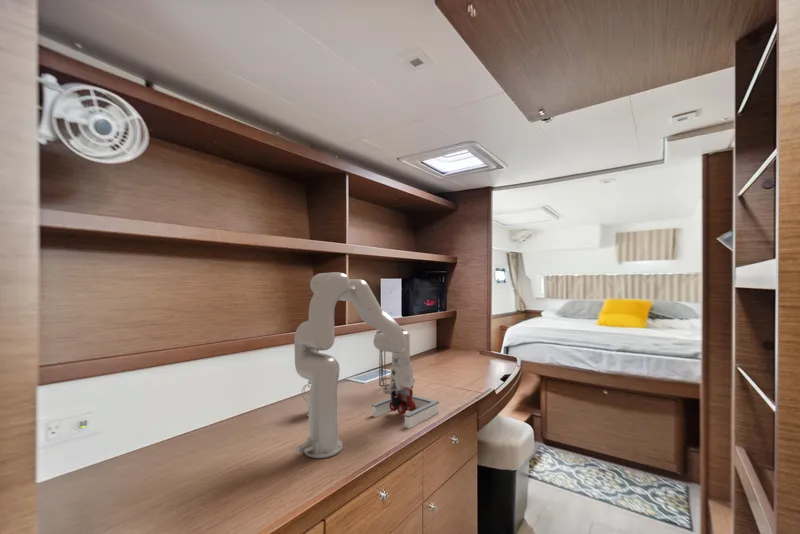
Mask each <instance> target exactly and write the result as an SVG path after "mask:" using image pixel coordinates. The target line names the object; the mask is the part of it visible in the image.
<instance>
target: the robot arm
mask: <svg viewBox="0 0 800 534" xmlns="http://www.w3.org/2000/svg"><path fill="white" fill-rule="evenodd" d="M309 287H310V290H311V291H312V292H313V295H312V297H311V299H310V302H309V308H308V320H306V321H304V322H302V323H300V324H299V325H298V327H297V328H296V330H295V334H294V367H295V371H296V373H297V375H298V376H299V377H301V378H303V379H306V380H307V381H309V380H311V381H312V384H310V387H309V390H310V391H308V392H309V393H308V394H309V397H307V398H308V399H307V401H308V402H307V403H308V404H309V417H308V437H306V438H305V442H304V443H302V444H300V445H298V446H296V447H295V452H296V453H297V454H299V453H301V452H304V455H306V456H307V457H309V458H313V459H324V458H330V457H333V456H335V455H337V454H339V453H340V452H341V451H342V449H343V444H344V443H343V441H342V440H340V439H339V436H338V435H339V427H338V425H339V423H338V421H339V420H338V419H339V418H338V383H339V377H340V370H341V369H340V364H339V361H338V360H337V359H336V358H335V357H334V356H333V355H330V354H326V353H323V352H322V351H328V350H330V349H331V348H332V347H333V346H334V343H335V338H336V337H335V334H336V333H335V308H336V304H337V302H338V301H341V302H342V301H343V302H351V303H352V304H353V306H354V308H355V309H356V311H357V313H358V315H359V316H360V318H361V320H362V321H363V322H364V323H365V324H368V325H369V326H371V327H373V328H375V329H376V330H377V331H378V330H379V331H381V333H379V334H377V333H376V334H377V335H376V334H375V335H376V336H375V335H374V339H373V346H374V347H375V348H376V350H379V351H380V350H381V351H382V352H384V351H385V353H386V352H387V353H391V364H392V365H391V368H390V377H389V378H390V379H389V380H390V381H389V382H390V383H389V384H390V385H389V386H387V387H386V388H387V390H388V394H389V395H390V397H391V396H392V406H394V407H399V397H398V393H399V391H402V390H405V388H406V387H407V388H411V389H412V390H413V388H414V384H415V382H416V380H415V379H414V371H413V366H412V365H413V364H412V363H411V349H410V347H411V345H410V344H411V343H410V342H411V341H410V340H411V339H410V332H409V331H407V330H405V331H402V329H403V328H401V326H400V324H399V323H398V322H397V321H396V319H394V318H393V317H391V315H389V314H388V313H387V312H385V311H384V310H383V309H382V307H381V305H380V303H379V302H378V300H377V298H376V296H375V294H374V293H373V290H372V288H371V287H370V285H369V284H368V283H367V281H365V280H364V279H360V278H359V279H358V278H357V279H356V278H354V279H353V278H352V279H350V278H349V276H348V275H347V274H345V273H343V272H338V271H334V272H333V271H331V272H322V273H316V275H314V276H313V277H312V278H311V280H310V284H309ZM320 351H321V352H320ZM387 390H386V391H387ZM395 391H396V394H395V393H394V392H395ZM308 404H307V405H308Z"/></svg>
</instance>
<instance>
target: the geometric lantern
mask: <svg viewBox="0 0 800 534" xmlns="http://www.w3.org/2000/svg"><path fill="white" fill-rule="evenodd" d="M401 329H402V331H406V330H405V329H403V328H401ZM379 333H381V331H380V330H378V329H377V331H376V334H375V335H374V337H375V336H376V335H377V334H379ZM383 358H384V362H383ZM378 362H379V363H378V364H379V367H378V368H379V369H378V370H379V371H378V375H379V377H378V381H379V382H378V385H379V387H381V388H382V389H384V391H385V394H389V392H388V390H387V388H388V387H389V385H390V383H389V384H388V383H387V380H390V378H391V377H387V375H386V370H387V369H386V351H381V350H379V361H378ZM383 364H384V365H383Z"/></svg>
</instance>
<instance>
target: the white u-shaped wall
mask: <svg viewBox="0 0 800 534" xmlns="http://www.w3.org/2000/svg"><path fill="white" fill-rule="evenodd" d="M412 401H413V402H414V403H415V410H414V411H409V412H407V413H405V414H404V427H405V428H407V429H410V428H412V427H414V426H416V425H419V424H420V423H423V422H424V421H426V420H427V419H429V418H432V417H433V416H436V415H438V414H439V413H440V404H439V403H440V401H437V400H436V399H435V400H434V399H431V398H426V397H423V396H422V397H421V396H419V395H415V394H413V395H412ZM390 402H391V396H390V397H388V398H385V399H383V400H380V401H378V402H375V403H372V405H371V416H372V417H374V418H376V417H379V416H382V415H384V414H385V413H388V412H391V411H392V410H391V409H390Z"/></svg>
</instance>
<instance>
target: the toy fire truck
mask: <svg viewBox="0 0 800 534" xmlns="http://www.w3.org/2000/svg"><path fill="white" fill-rule="evenodd" d="M394 393H395V394H396V391H395V392H394ZM412 395H414V392H413V388H412V389H411V388H407V387H406V388H405V390H402V391H399V393H398V397H399V407H394V406H392V396H391V395H390V397H391V402H390V409H391V411H392V412H396V411H397V412H398V414H399V415H401V416H402V415H403V416H404V415H405V414H406V412H407V411H409V412H412V411H414V410H416V408H415V403H414V402H413V401H412Z"/></svg>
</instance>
